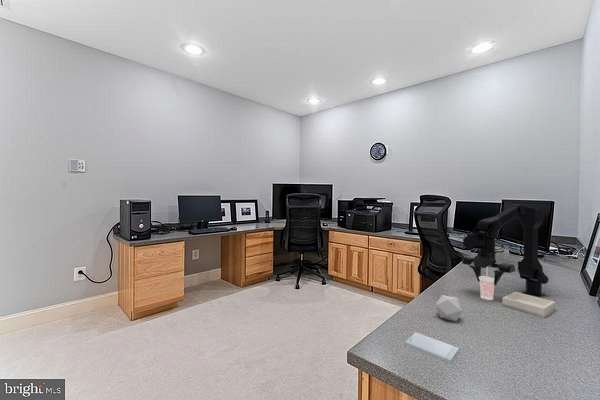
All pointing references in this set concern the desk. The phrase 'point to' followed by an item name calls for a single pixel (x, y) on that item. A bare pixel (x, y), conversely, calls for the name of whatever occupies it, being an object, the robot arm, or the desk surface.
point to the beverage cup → (486, 286)
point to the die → (449, 308)
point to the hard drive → (433, 347)
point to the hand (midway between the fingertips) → (487, 283)
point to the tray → (529, 304)
